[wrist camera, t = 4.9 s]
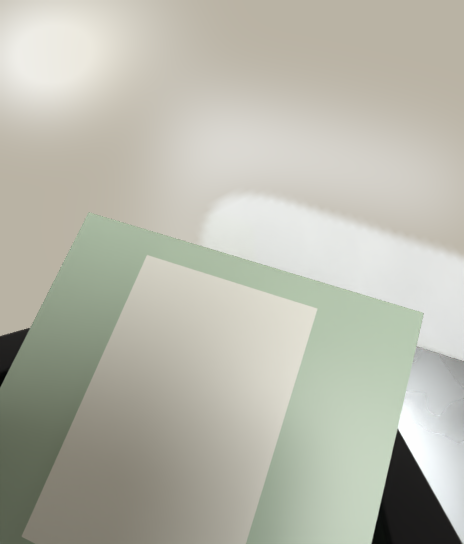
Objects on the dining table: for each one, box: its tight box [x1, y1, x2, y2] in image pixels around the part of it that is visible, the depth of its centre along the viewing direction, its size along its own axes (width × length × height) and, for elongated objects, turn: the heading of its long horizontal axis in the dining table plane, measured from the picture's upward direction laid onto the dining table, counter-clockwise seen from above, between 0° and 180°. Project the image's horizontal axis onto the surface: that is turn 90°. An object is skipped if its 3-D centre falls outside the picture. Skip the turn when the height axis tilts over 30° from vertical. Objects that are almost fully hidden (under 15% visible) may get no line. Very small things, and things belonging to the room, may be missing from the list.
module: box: [0, 212, 424, 544], centre depth 10 cm, size 5×4×10 cm
